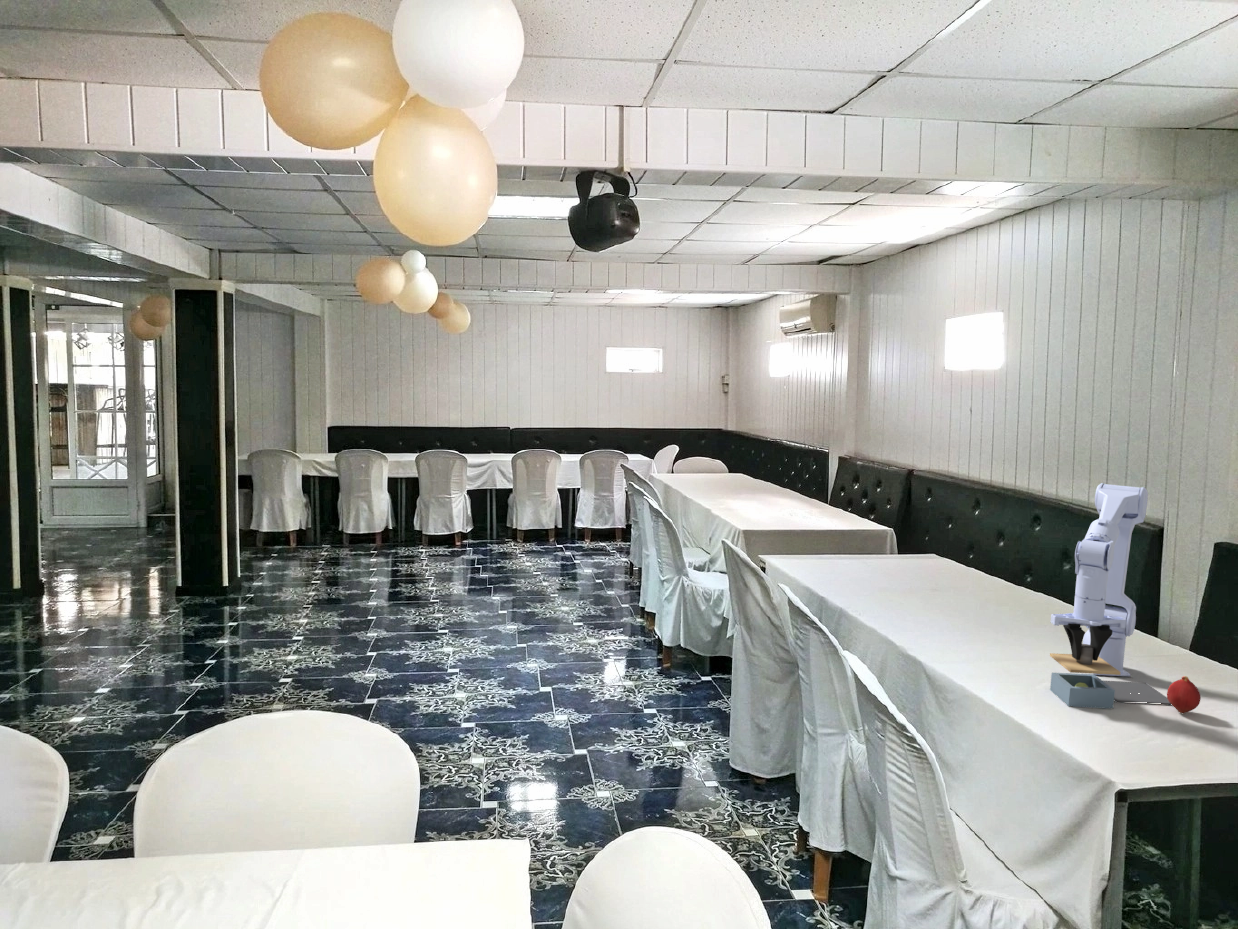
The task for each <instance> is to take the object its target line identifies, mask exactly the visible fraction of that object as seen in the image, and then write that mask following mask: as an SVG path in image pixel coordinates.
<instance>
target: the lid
mask: <svg viewBox="0 0 1238 929" xmlns="http://www.w3.org/2000/svg"><path fill="white" fill-rule="evenodd" d="M1093 651H1094V647H1093V646H1091V645H1088V644H1083V643H1082V645H1081V656H1080V660H1076V659H1075V658H1073V657H1072V653H1054V652H1053V653H1051V652H1050V653H1049V656H1050V657H1051V659H1053V660H1054V661H1055V662H1057V664H1059V665H1061V666H1062V667H1063V668H1064V669H1066V670H1067V671H1068V673H1073V674H1094V675H1095V674H1115V675H1120V671H1118V670H1117V669H1116V668H1114V667H1113V666H1111V665H1110V664H1109V663H1107V662H1106V661H1104V660H1103V659H1102V658H1100V657H1098V660H1097V661H1094V660H1093Z"/></svg>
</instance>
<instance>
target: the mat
mask: <svg viewBox="0 0 1238 929" xmlns="http://www.w3.org/2000/svg"><path fill="white" fill-rule="evenodd" d="M1101 680H1102V679H1101ZM1102 681H1103V682H1105V683H1106V684H1107V685H1109V686H1110V687H1111V688H1113V689H1114V690H1115V694H1114V700H1115V701H1114V702H1115V703H1117V702H1147V703H1161V704H1171V703H1170V702H1169V701H1168V698H1167V695H1166V696H1165V695H1164V694H1163V693H1161V692H1159V690H1157V689H1155V688H1154V687H1153V686H1151V685H1150V684H1148V683H1147V682H1141V681H1124V680H1123V681H1120V680H1119V681H1118V680H1104V679H1103V680H1102ZM1130 693H1131V694H1130ZM1138 693H1140V694H1138Z"/></svg>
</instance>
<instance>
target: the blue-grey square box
mask: <svg viewBox="0 0 1238 929" xmlns="http://www.w3.org/2000/svg"><path fill="white" fill-rule="evenodd" d="M1103 681H1104V680H1103ZM1103 681H1102V679H1101V678H1099V676H1098V675H1095V674H1093V673H1071V672H1051V677H1050V686H1049V687H1050V688H1049V690H1050V691H1051V693H1053V694H1054V695H1055V696H1056V695H1057V696H1058V697H1057V696H1056V697H1057V698H1059V699H1060V700H1061V702H1063V703H1064V702H1065V703H1066V704H1067V707H1071V706H1073V707H1075V708H1092V709H1093V708H1094V709H1097V708H1098V709H1111V708H1113V709H1114V702H1115V701H1114V694H1115V690H1114V689H1113V688H1111V687H1110V686H1109V685H1107V684H1106V683H1105V682H1103ZM1080 682H1081V683H1085V684H1086V685H1087V686H1088V687H1075V685H1076V684H1077V683H1080ZM1065 703H1064V704H1065ZM1066 704H1065V705H1066Z"/></svg>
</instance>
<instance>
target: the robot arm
mask: <svg viewBox="0 0 1238 929" xmlns="http://www.w3.org/2000/svg"><path fill="white" fill-rule="evenodd" d="M1148 496H1149V493H1148V490H1147V488H1146V487H1144V486H1141V487H1138V486H1130V485H1119V484H1109V483H1108V484H1107V483H1105V482H1101V483H1100V484H1098V485H1097V486H1096V489H1095V495H1094V506H1095V508H1096V511H1097V513H1098V515H1099V518H1097V519H1095V520H1093V521H1092V522H1091V523H1090V525H1089V528H1088V530H1087V532H1086V534H1085V536H1084V538H1083V539H1082V540H1081V541H1080V540H1078V541H1077V544H1076V547H1075V551H1074V562H1075V563H1074V564H1075V570H1074V574H1076V578H1075V579H1076V581H1075V591H1074V592H1075V593H1074V603H1073V604H1074V605H1073V612H1071V613H1070V612H1068V613H1051V615H1050V623H1051V625H1053V626H1055V627H1056V626H1061V625H1062V627H1063V628H1064V631H1065V634H1066V635H1067V638H1068V641H1069V646H1070V649H1071V650H1070V651H1071V654H1072V657H1073V658H1075V659H1076V660H1080V656H1081V645H1082V644H1088V645H1091V646H1093V647H1094V651H1093V660H1094V661H1097V660H1098V657H1100V658H1102V659H1103V660H1104V661H1106V662H1107V663H1109V664H1110V665H1111V666H1113V667H1114V668H1116V669H1117V670H1118V671H1120V675H1115V674H1094V675H1095V676H1107V677H1108V676H1112V677H1131V673H1130V672H1128V671H1126V670H1125V669H1124V663H1125V662H1124V660H1125V652H1126V651H1125V650H1126V643H1127V641H1126V639H1127V637H1130V636H1132V635H1133V634H1134V631H1135V626H1136V621H1137V616H1136V615H1137V614H1136V612H1137V606H1136V604H1135V602H1134V601H1133V600H1132V599H1131V598H1130V597H1129V596H1127V595H1126V594H1125V587H1126V580H1127V573H1128V572H1127V571H1128V566H1129V556H1130V551H1131V550H1130V549H1131V540H1132V533H1133V531H1134V528H1135V525H1137V524H1142V523H1144V521H1145V519H1146V514H1147V506H1148V499H1149V498H1148ZM1106 604H1107V605H1106ZM1112 605H1114V606H1112ZM1082 626H1084V627H1085V628H1086V629H1087V630H1086V631H1085V630H1083V628H1082Z"/></svg>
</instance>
